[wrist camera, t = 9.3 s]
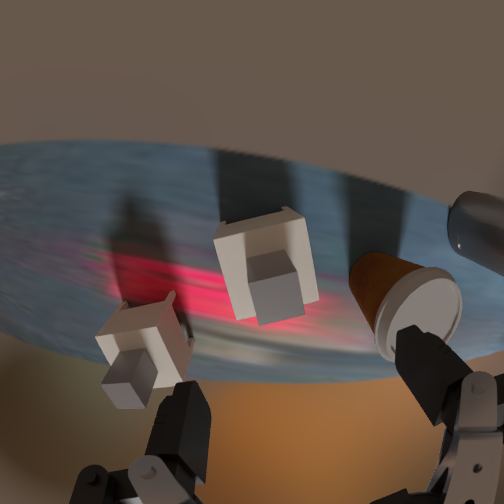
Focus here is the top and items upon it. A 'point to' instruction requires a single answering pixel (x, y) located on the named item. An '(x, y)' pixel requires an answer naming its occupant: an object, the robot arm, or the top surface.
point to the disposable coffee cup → (404, 298)
